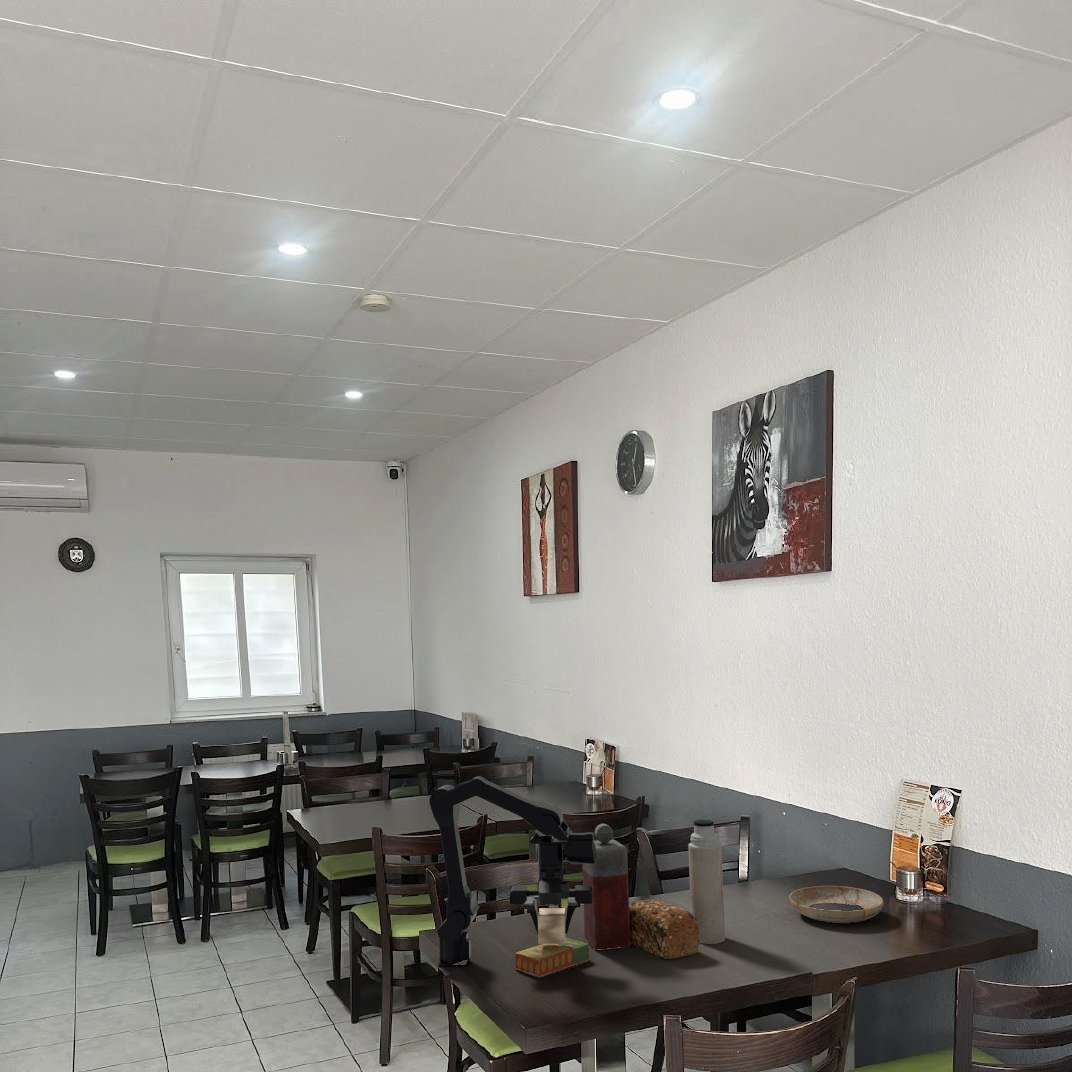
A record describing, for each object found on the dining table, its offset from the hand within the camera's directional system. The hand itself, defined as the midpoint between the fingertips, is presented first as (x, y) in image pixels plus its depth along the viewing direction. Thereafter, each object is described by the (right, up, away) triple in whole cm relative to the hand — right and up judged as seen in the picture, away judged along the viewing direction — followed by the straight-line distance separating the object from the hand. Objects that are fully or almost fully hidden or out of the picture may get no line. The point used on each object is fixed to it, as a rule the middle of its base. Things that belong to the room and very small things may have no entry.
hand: (552, 933), depth 215 cm
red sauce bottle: (+13, -8, +14) cm, 21 cm away
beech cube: (0, -1, 0) cm, 1 cm away
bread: (+26, -8, +10) cm, 29 cm away
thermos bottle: (+38, -8, +15) cm, 42 cm away
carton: (0, -7, -1) cm, 7 cm away
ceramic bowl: (+74, -9, +30) cm, 81 cm away
